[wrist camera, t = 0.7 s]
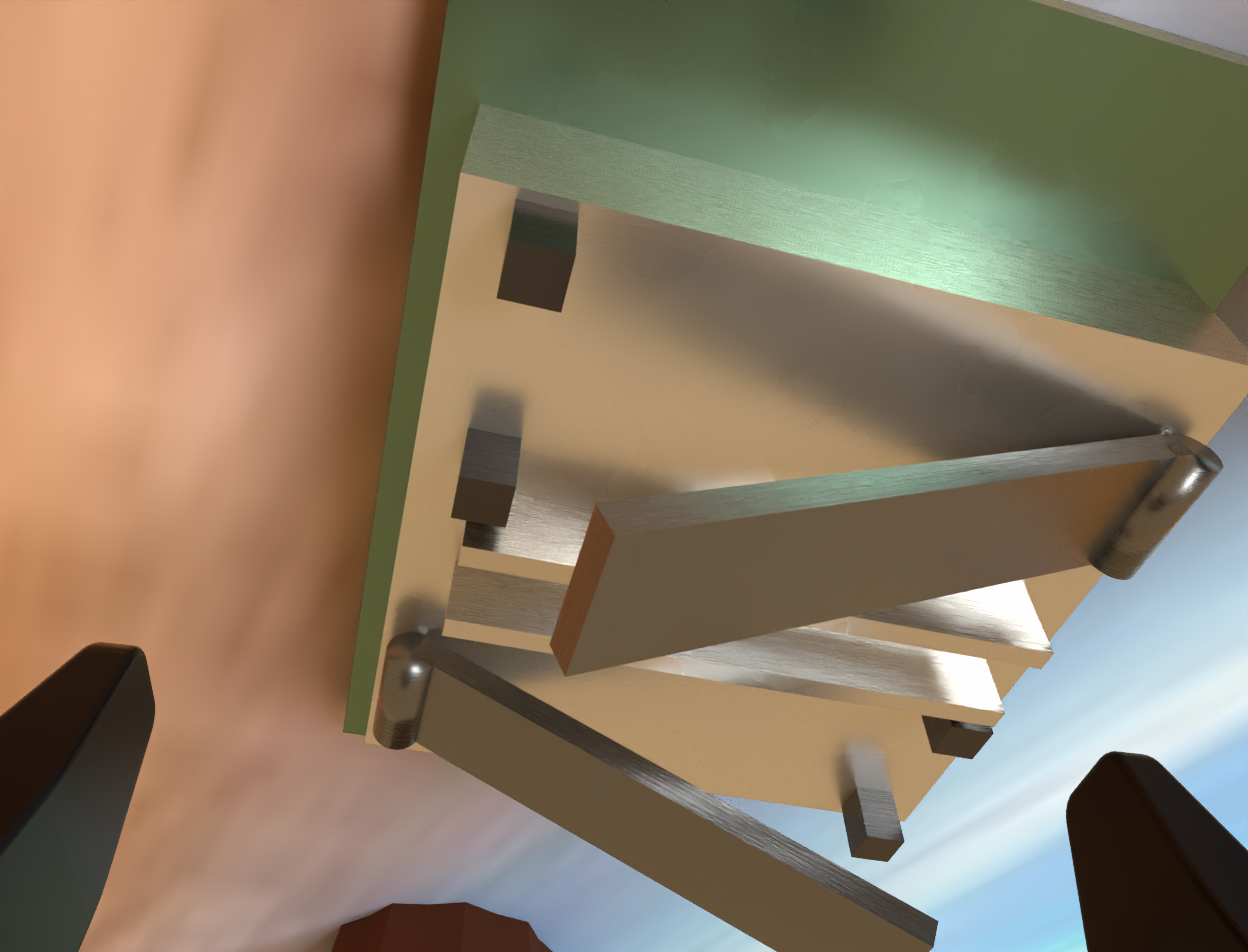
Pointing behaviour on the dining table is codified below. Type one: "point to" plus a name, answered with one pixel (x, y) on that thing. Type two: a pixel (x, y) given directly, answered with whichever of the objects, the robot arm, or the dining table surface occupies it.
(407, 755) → the dining table surface
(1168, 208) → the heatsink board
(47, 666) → the dining table surface
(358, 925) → the muffin
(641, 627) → the strap
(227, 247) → the dining table surface
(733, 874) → the strap
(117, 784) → the robot arm
